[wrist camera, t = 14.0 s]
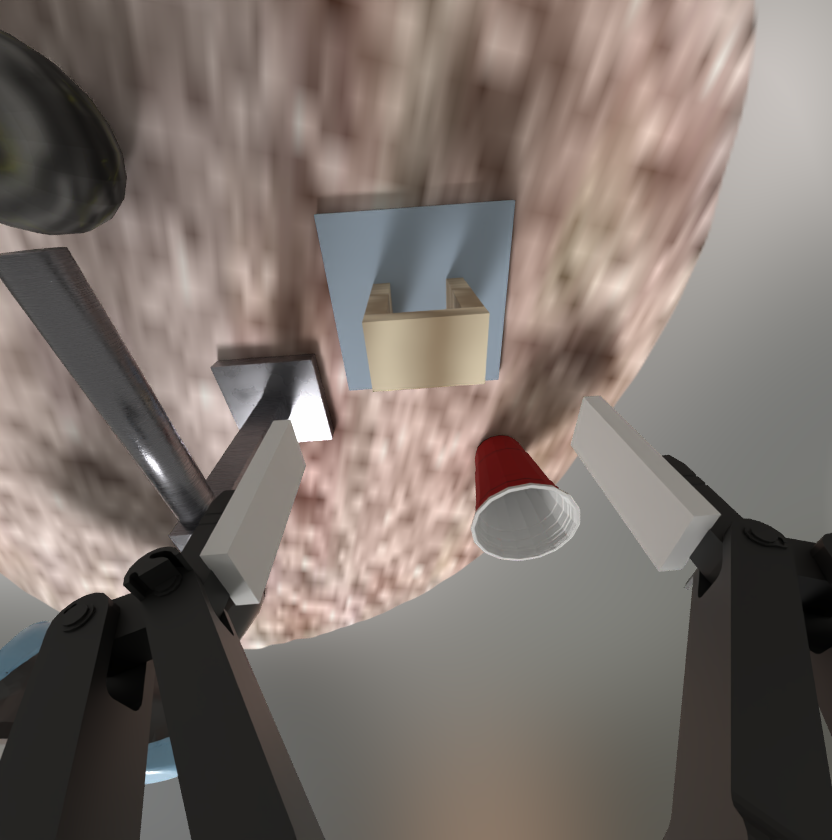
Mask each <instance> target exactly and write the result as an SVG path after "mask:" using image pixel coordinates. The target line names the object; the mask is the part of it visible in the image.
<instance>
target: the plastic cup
mask: <svg viewBox="0 0 832 840" xmlns="http://www.w3.org/2000/svg"><path fill="white" fill-rule="evenodd" d="M475 465H476V471H475V483H476V507H475V508H476V512H475V515H474V519H473V522H472V525H471V531H472V535H473V539H474V543H475V544H476V545H477V546H478V547H479V548H480V549H481V550H482V551H483V552H484V553H487V554H489V555H491V556H494V557H496V558H499V559H503V560H504V559H505V560H515V561H522V560H528V559H534V558H539V557H542V556H544V555H547V554H549V553H551V552H553V551H556V550H558V549H559V548H560V547H562V546H563V545H564V544H565V543H566V542H568V541H569V540H570V539H571V538H572V537H573V535H574V534H575V532H576V530H577V528H578V526H579V525H580V508H579V507H578V505H577V504H576V502H575V501H574V499H573V498H572V497H571V495H569V494H568V493H566V492H564V491H562V490H560V489H559V488H558V487H557V486H555V485H554V483H553V482H552V481H551V480H549V479H548V477H547V476H546V475H545V474H544V472H543V471H542V470H541V469H540V468H539V466H538V465H537V464H536V463H535V461H534V460H533V459H532V458H531V457H530V455H529V454H528V453H526V452H525V450H524V449H523V448H522V447H521V445H520V444H519V443H518V442H517V441H516V440H515V439H513V438H511V437H509V436H502V435H498V436H494V437H490V438H489V439H487V440H485V441H483V442H482V443H481V445H480V446H479V447H478V449H477V452H476V456H475Z"/></svg>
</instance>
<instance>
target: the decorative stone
mask: <svg viewBox="0 0 832 840" xmlns="http://www.w3.org/2000/svg"><path fill="white" fill-rule="evenodd" d="M126 180H127V176H126V171H125V165H124V160H123V155H122V152H121V150H120V148H119V145H118V143H117V141H116V139H115V136H114V134H113V132H112V130H111V128H110V126H109V124H108V123H107V122H106V120H105V119H104V117H103V116H102V115H101V113H100V112H99V110H98V109H97V107H96V106H95V105H94V103H93V102H92V100H91V99H90V98H89V97H88V96H87V95H86V94H85V93H84V92H83V91H82V90H81V89H80V88H79V87H78V86H77V85H76V84H75V83H74V82H73V81H72V80H71V79H70V78H69V77H68V76H67V75H66V74H65V73H64V72H63V71H62V70H61V69H60V68H59V67H58V66H57V65H55V64H54V63H53V62H51V61H50V60H48V59H47V58H46V57H44V56H43V55H41V54H40V53H38V52H36V51H35V50H33V49H32V48H30V47H29V46H27V45H26V44H24V43H22V42H21V41H19V40H18V39H16V38H15V37H13V36H12V35H10V34H8V33H6V32H4V31H2V30H0V223H2V224H5V225H8V226H11V227H15V228H19V229H24V230H28V231H32V232H36V233H41V234H47V235H62V234H75V233H84V232H88V231H91V230H93V229H94V228H96V227H98V226H100V225H102V224H103V223H105V222H107V221H108V220H110V219H112V218H113V216H114V215H115V213H116V211H117V210H118V208H119V206H120V205H121V203H122V201H123V200H124V196H125V188H126Z"/></svg>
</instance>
